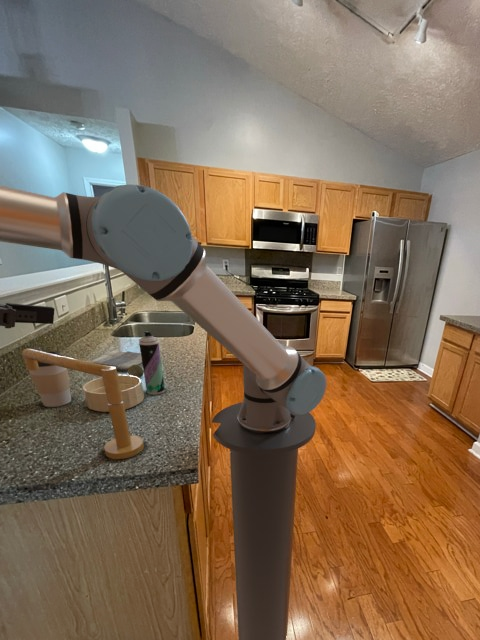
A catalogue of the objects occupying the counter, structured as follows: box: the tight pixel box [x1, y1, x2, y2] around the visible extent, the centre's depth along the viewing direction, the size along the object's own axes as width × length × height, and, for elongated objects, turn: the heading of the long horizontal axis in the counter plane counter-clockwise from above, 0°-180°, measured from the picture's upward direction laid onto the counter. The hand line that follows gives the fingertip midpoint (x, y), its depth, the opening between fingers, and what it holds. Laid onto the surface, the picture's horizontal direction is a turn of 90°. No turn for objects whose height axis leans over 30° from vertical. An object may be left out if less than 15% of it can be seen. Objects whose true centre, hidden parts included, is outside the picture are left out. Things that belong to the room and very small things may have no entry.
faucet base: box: [103, 401, 145, 460], centre depth 71 cm, size 8×8×12 cm
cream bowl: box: [82, 374, 145, 413], centre depth 95 cm, size 15×15×6 cm
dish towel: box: [90, 349, 143, 372], centre depth 128 cm, size 19×18×3 cm
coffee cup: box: [28, 350, 72, 408], centre depth 91 cm, size 9×9×15 cm
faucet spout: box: [21, 348, 123, 404], centre depth 71 cm, size 29×3×8 cm, turn 68°
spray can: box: [138, 330, 166, 396], centre depth 101 cm, size 6×6×20 cm
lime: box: [127, 365, 144, 379], centre depth 114 cm, size 4×5×5 cm
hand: (24, 303), depth 55 cm, fingers open, 13 cm apart
